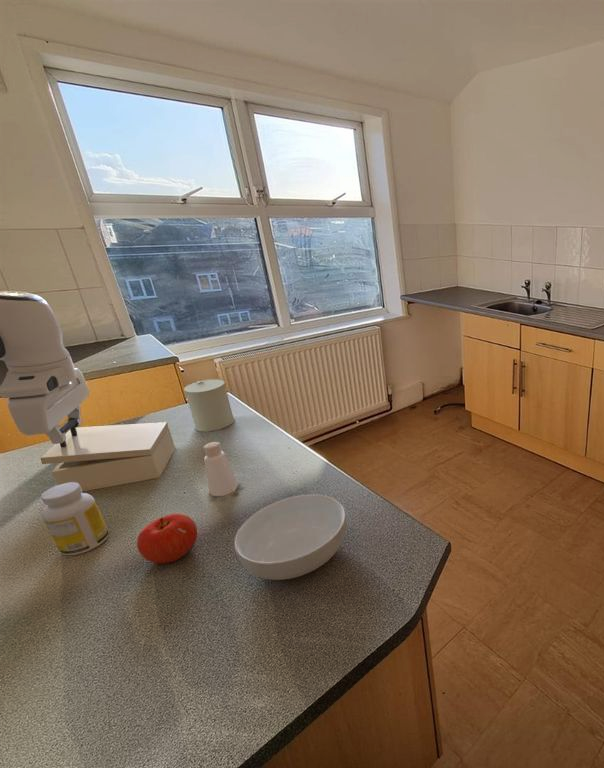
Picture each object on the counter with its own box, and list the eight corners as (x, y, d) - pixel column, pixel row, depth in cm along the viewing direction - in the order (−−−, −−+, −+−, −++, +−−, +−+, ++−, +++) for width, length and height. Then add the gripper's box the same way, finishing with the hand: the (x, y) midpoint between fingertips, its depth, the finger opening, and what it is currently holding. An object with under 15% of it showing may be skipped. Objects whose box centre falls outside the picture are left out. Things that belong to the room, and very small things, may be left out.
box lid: (41, 464, 86) (34, 439, 84) (73, 433, 97) (67, 410, 95) (151, 455, 93) (147, 432, 91) (168, 427, 105) (164, 406, 103)
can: (225, 413, 125) (215, 374, 120) (240, 422, 120) (230, 382, 115) (189, 425, 118) (177, 384, 113) (203, 435, 113) (191, 393, 108)
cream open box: (62, 495, 89) (51, 472, 87) (89, 462, 101) (80, 440, 98) (159, 477, 95) (151, 455, 93) (175, 448, 107) (168, 427, 105)
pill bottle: (108, 526, 81) (86, 474, 77) (111, 544, 77) (88, 490, 72) (60, 543, 77) (33, 489, 72) (60, 563, 73) (32, 507, 68)
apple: (213, 541, 78) (201, 505, 75) (172, 576, 71) (157, 538, 68) (176, 534, 79) (163, 499, 76) (132, 567, 72) (116, 530, 69)
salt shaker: (207, 499, 89) (192, 453, 84) (211, 485, 93) (198, 441, 89) (237, 493, 91) (224, 448, 87) (240, 479, 95) (228, 436, 91)
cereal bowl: (285, 614, 64) (276, 579, 62) (222, 570, 72) (211, 537, 69) (370, 543, 78) (366, 512, 75) (310, 512, 86) (304, 483, 83)
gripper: (49, 358, 94) (71, 415, 99) (-9, 394, 76) (21, 460, 82) (87, 356, 96) (106, 411, 101) (39, 389, 79) (65, 454, 84)
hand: (68, 434), depth 91 cm, fingers closed on box lid, 6 cm apart
